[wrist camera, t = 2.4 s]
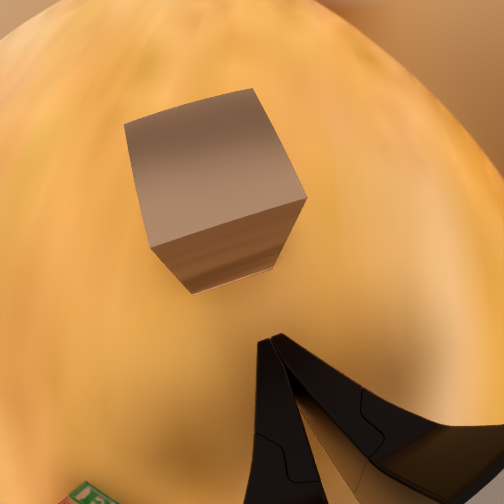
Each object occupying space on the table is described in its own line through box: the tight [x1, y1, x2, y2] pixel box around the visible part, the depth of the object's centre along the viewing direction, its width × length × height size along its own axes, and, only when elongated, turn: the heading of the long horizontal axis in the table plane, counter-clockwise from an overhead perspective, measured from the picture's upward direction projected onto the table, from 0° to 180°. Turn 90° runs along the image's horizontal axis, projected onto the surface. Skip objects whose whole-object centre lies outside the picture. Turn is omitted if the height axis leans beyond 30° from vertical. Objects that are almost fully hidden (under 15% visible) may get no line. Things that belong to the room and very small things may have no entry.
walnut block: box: [124, 88, 307, 296], centre depth 15 cm, size 5×5×10 cm
